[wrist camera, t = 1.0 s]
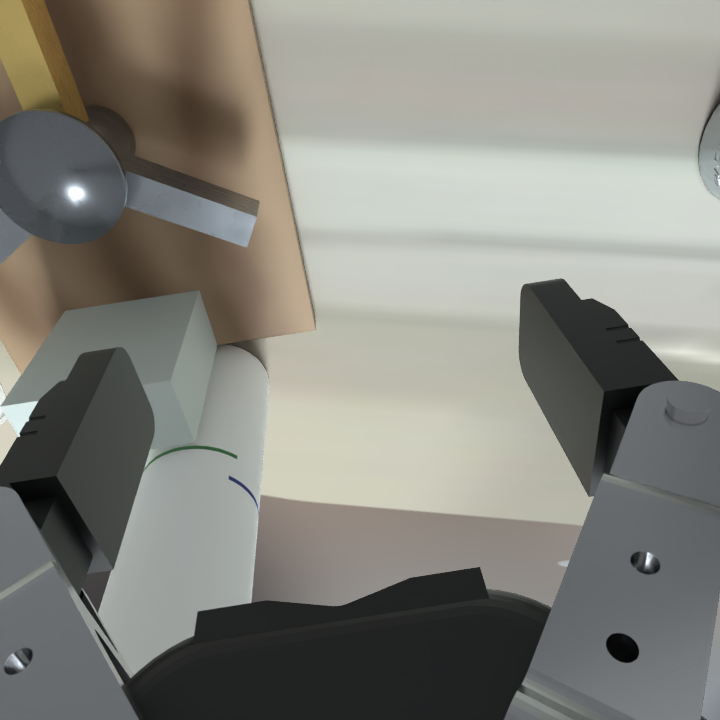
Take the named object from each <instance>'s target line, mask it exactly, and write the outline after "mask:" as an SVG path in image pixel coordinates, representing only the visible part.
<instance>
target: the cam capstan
mask: <svg viewBox="0 0 720 720" xmlns="http://www.w3.org/2000/svg"><path fill="white" fill-rule="evenodd" d="M0 58H1V61H2V63H3V65H4V67H5V70H6V72H7V74H8V77H9V79H10V81H11V83H12V86H13V88H14V90H15V93H16V95H17V97H18V99H19V102H20V104H21V106H22V109H23V111H20V112H18V113H15V114H13V115H11V116H9V117H7V118H6V119H4V120H2V121H1V122H0V265H1V264H2V263H3V262H4V261H5V260H6V259H7V258H8V257H9V256H10V255H11V254H12V253H13V252H14V251H15V250H16V249H17V248H19V247H20V246H21V245H22V244H23V243H24V242H25V241H26V240H27V239H28V238H29V237H30V236H31V235H32V234H33V235H35V236H37V237H39V238H42V239H45V240H47V241H51V242H55V243H61V244H82V243H86V242H90V241H93V240H96V239H98V238H100V237H101V236H103V235H105V234H106V233H107V232H108V231H110V230H111V228H112V227H113V226H114V225H115V224H116V222H117V221H118V220H119V218H120V217H121V215H122V213H123V211H124V209H125V207H128V208H131V209H134V210H137V211H140V212H142V213H145V214H148V215H151V216H154V217H157V218H160V219H163V220H166V221H169V222H172V223H175V224H178V225H181V226H184V227H187V228H190V229H193V230H196V231H199V232H202V233H205V234H208V235H211V236H214V237H217V238H220V239H223V240H226V241H229V242H232V243H235V244H238V245H241V246H244V247H247V246H248V243H249V240H250V237H251V234H252V231H253V228H254V224H255V221H256V218H257V214H258V208H259V203H260V201H259V200H256V199H253V198H250V197H248V196H245V195H242V194H239V193H236V192H234V191H231V190H228V189H225V188H223V187H220V186H217V185H214V184H212V183H209V182H206V181H203V180H200V179H198V178H195V177H192V176H189V175H187V174H184V173H181V172H178V171H176V170H173V169H170V168H167V167H165V166H162V165H159V164H156V163H153V162H151V161H148V160H145V159H142V158H140V157H137V156H134V154H135V149H136V143H135V138H134V134H133V132H132V130H131V128H130V126H129V125H128V123H127V122H126V121H125V120H124V119H123V118H122V117H121V116H120V115H119V114H118V113H116V112H115V111H113V110H111V109H109V108H106V107H103V106H98V105H90V106H85V107H84V105H83V102H82V99H81V97H80V94H79V91H78V89H77V86H76V83H75V81H74V78H73V76H72V73H71V70H70V68H69V65H68V62H67V60H66V57H65V54H64V52H63V49H62V46H61V44H60V41H59V39H58V36H57V33H56V31H55V28H54V25H53V23H52V20H51V17H50V15H49V12H48V10H47V7H46V4H45V2H44V0H0Z"/></svg>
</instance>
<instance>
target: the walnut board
mask: <svg viewBox="0 0 720 720" xmlns="http://www.w3.org/2000/svg"><path fill="white" fill-rule="evenodd" d="M44 2H45V4H46V7H47V10H48V12H49V15H50V17H51V20H52V23H53V25H54V28H55V31H56V33H57V36H58V39H59V41H60V44H61V46H62V49H63V52H64V54H65V57H66V60H67V62H68V65H69V68H70V70H71V73H72V76H73V78H74V81H75V83H76V86H77V89H78V91H79V94H80V97H81V99H82V102H83V105H84V107H85V106H90V105H98V106H103V107H106V108H109V109H111V110H113V111H115V112H116V113H118V114H119V115H120V116H121V117H122V118H123V119H124V120H125V121H126V122H127V123H128V125H129V126H130V128H131V130H132V132H133V134H134V138H135V143H136V149H135V154H134V156H137V157H140V158H142V159H145V160H148V161H151V162H153V163H156V164H159V165H162V166H165V167H167V168H170V169H173V170H176V171H178V172H181V173H184V174H187V175H189V176H192V177H195V178H198V179H200V180H203V181H206V182H209V183H212V184H214V185H217V186H220V187H223V188H225V189H228V190H231V191H234V192H236V193H239V194H242V195H245V196H248V197H250V198H253V199H256V200H259V201H260V203H259V208H258V214H257V218H256V221H255V224H254V228H253V231H252V234H251V237H250V240H249V243H248V246H247V247H244V246H241V245H238V244H235V243H232V242H229V241H226V240H223V239H220V238H217V237H214V236H211V235H208V234H205V233H202V232H199V231H196V230H193V229H190V228H187V227H184V226H181V225H178V224H175V223H172V222H169V221H166V220H163V219H160V218H157V217H154V216H151V215H148V214H145V213H142V212H140V211H137V210H134V209H131V208H128V207H125V209H124V211H123V213H122V215H121V217H120V218H119V220H118V221H117V222H116V224H115V225H114V226H113V227H112V228H111V230H110V231H108V232H107V233H106V234H105V235H103V236H101V237H100V238H98V239H96V240H93V241H90V242H86V243H82V244H61V243H55V242H51V241H47V240H45V239H42V238H39V237H37V236H35V235H33V234H32V235H31V236H30V237H29V238H28V239H27V240H26V241H25V242H24V243H23V244H22V245H21V246H20V247H19V248H17V249H16V250H15V251H14V252H13V253H12V254H11V255H10V256H9V257H8V258H7V259H6V260H5V261H4V262H3V263H2V264H1V265H0V339H1V341H2V343H3V344H4V346H5V348H6V349H7V351H8V353H9V355H10V356H11V358H12V360H13V361H14V363H15V365H16V367H17V368H18V370H19V372H20V373H21V375H22V373H23V372H24V371H25V369H26V368H27V366H28V365H29V363H30V362H31V360H32V359H33V357H34V356H35V354H36V353H37V351H38V350H39V348H40V347H41V345H42V344H43V343H44V341H45V340H46V338H47V337H48V335H49V334H50V332H51V331H52V329H53V328H54V326H55V325H56V323H57V322H58V320H59V319H60V318H61V316H62V315H63V313H64V312H65V311H67V310H74V309H80V308H87V307H93V306H100V305H106V304H113V303H119V302H126V301H132V300H139V299H145V298H152V297H158V296H165V295H171V294H178V293H184V292H191V291H197V290H199V291H200V294H201V297H202V300H203V303H204V306H205V309H206V312H207V315H208V318H209V321H210V324H211V328H212V331H213V334H214V337H215V340H216V343H217V345H222V344H228V343H235V342H241V341H248V340H255V339H261V338H268V337H274V336H281V335H287V334H294V333H300V332H307V331H313V330H316V322H315V317H314V312H313V307H312V302H311V297H310V292H309V287H308V282H307V277H306V273H305V268H304V263H303V258H302V253H301V248H300V243H299V238H298V233H297V229H296V224H295V219H294V214H293V209H292V204H291V199H290V194H289V190H288V185H287V180H286V175H285V170H284V165H283V160H282V155H281V150H280V146H279V141H278V136H277V131H276V126H275V121H274V116H273V111H272V106H271V102H270V97H269V92H268V87H267V82H266V77H265V72H264V67H263V62H262V58H261V53H260V48H259V43H258V38H257V33H256V28H255V23H254V18H253V14H252V9H251V4H250V0H44ZM20 111H23V109H22V106H21V104H20V102H19V99H18V97H17V95H16V93H15V90H14V88H13V86H12V83H11V81H10V79H9V77H8V74H7V72H6V70H5V67H4V65H3V63H2V61H1V58H0V122H1V121H2V120H4V119H6V118H7V117H9V116H11V115H13V114H15V113H18V112H20Z"/></svg>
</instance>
